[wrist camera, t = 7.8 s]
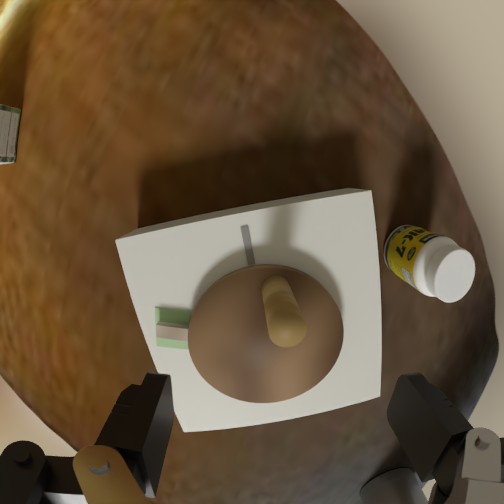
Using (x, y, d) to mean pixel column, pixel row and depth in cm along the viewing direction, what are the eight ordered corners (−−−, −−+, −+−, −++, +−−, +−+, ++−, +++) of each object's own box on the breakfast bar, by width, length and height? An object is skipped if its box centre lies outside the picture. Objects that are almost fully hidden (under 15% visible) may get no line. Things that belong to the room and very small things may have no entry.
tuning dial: (353, 271, 21) (397, 311, 14) (322, 396, 23) (343, 457, 17) (159, 252, 20) (123, 287, 14) (160, 385, 23) (139, 445, 16)
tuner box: (363, 367, 29) (380, 397, 24) (190, 399, 29) (183, 432, 24) (348, 187, 25) (371, 190, 20) (137, 228, 25) (114, 240, 20)
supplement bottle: (410, 213, 26) (467, 229, 17) (431, 252, 27) (486, 278, 18) (372, 245, 26) (420, 273, 18) (396, 284, 27) (444, 320, 19)
